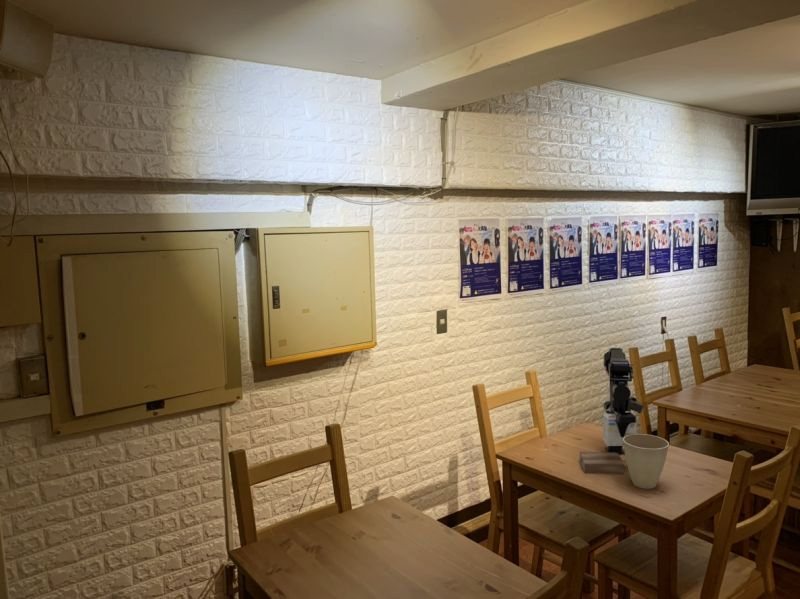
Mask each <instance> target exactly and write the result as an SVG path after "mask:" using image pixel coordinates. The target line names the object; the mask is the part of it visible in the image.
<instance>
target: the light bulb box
mask: <svg viewBox="0 0 800 599" xmlns="http://www.w3.org/2000/svg"><path fill="white" fill-rule="evenodd" d="M602 415H603V416H602V419H603V420H602V423H603V424H602V425H603V426H602V427H603V430H602V431H603V433H602V434H603V437H602V439H603V442H604V443H605V445H606V447H608V446H623V447H624V444H623V438H624V437H625V436H627V435H631V434H637V422H636V423H630V424H629V425H628V427H627V430H626V433H625V436H624V437H621V436H620V433H619V430H618V427H617V425H616V422H615V420H616V415H617V414H607V413H603V414H602Z"/></svg>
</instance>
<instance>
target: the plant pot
mask: <svg viewBox="0 0 800 599" xmlns="http://www.w3.org/2000/svg"><path fill="white" fill-rule="evenodd" d="M623 444H624V446H623V450H624V452H625V454H624V456H625V460H626V462H625V463H626V465H627V470H628V472H629V476H630V478H631V481H632V484H633V485H634V486H635V487H637V488H639V489H643V490H644V489H645V490H650V489H654V488H656V487H657V484H658V482H659V480H660V478H661V475H662V472H663V470H664V467H665V463H666V460H667V456H668V451H669V446H670V443H669V441H667V440H666V439H664V438H663V437H659V436H657V435H652V434H645V433H636V434H631V435H627V436H625V437H624V438H623Z"/></svg>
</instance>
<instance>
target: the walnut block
mask: <svg viewBox="0 0 800 599" xmlns="http://www.w3.org/2000/svg"><path fill="white" fill-rule="evenodd" d="M579 463H580V464H581V468H582V469H583V472H584V474H603V475H604V474H605V475H606V474H607V475H608V474H609V475H615V474H616V475H624V474H625V463H624V462H623V461H622V458H621V457H620V454H617V453H613V452H608V451H607V452H605V451H604V452H598V451H595V452H594V451H579Z"/></svg>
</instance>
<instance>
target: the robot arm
mask: <svg viewBox="0 0 800 599" xmlns="http://www.w3.org/2000/svg"><path fill="white" fill-rule="evenodd" d="M602 362H603V367H604V369H605V373H606V374H607V376H608V377H609V379H608V380H609V400H608V401H607V400H606V401H605V402H604V403H603V409H604V410H605V414H617V415H616V420H615V422H616V425H617V427H618V430H619V433H620V436H621V437H624V436H625V433H626V430H627V427H628V425H629V424H630V423H636V424H637V416H636V415H635V414H633V413H632V412H631V411H633V412H636V413H638V414H642V412H643V410H644V407H645V405H644V404H643V403H641V402H639V401H638V399H637V397H634V396H631V394H632V393H631V390H630V387H629V382H633V379H634V372H633V371H634V370H633V366H632V364H631V363H630V361H629V360H628V359H627V357H626V354H625V353H624V351H623V348H620V347H610V348H609V349H608V351H606V352H605V353H604V354H603V361H602ZM604 448H605V451H607V452H613V453H617V454H618V455H621V454H622V455H625V452H624V446H606V447H604Z"/></svg>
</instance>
